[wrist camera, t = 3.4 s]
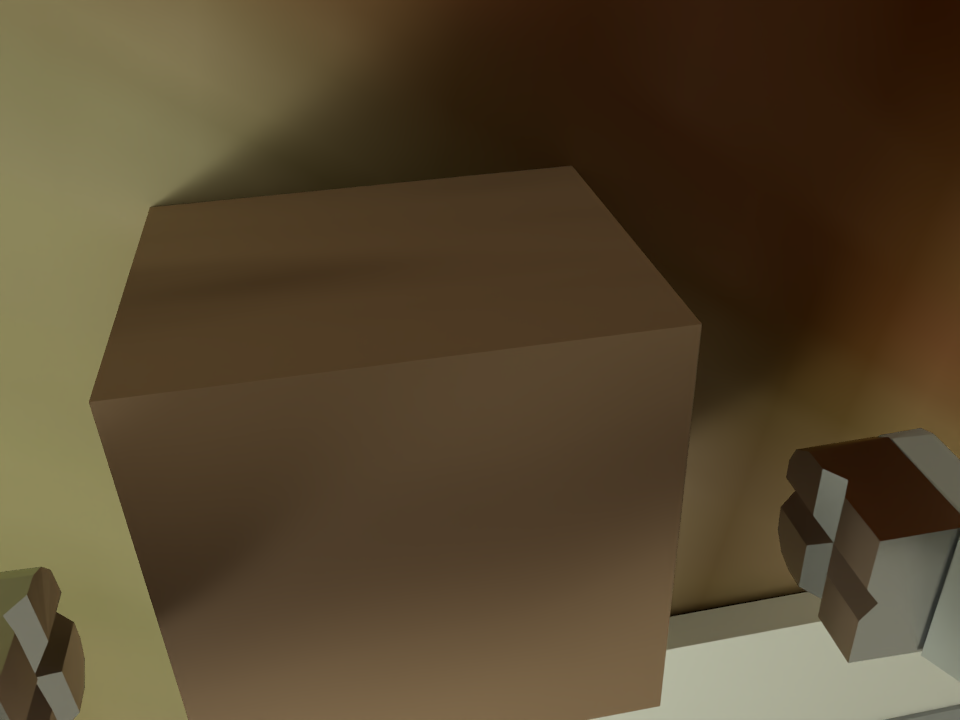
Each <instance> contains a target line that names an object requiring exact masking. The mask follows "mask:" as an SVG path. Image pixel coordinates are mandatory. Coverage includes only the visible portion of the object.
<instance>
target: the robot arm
mask: <svg viewBox="0 0 960 720" xmlns="http://www.w3.org/2000/svg"><path fill="white" fill-rule="evenodd" d="M786 478H787V479H788V481H789V482H790V483H791V485H792V486H793V488H794V489H795V490H796V491H795V492H794V493H793V494H792V495H791V496H790V497H789V499H788V500H787V501H786V502H785V503H784V504H783V505H782V506H781V510H780V518H779V525H778V533H779V539H780V545H781V552H782V555H783V557H784V560H785V562H786V565H787V567H788V570H789V571H790V573H791V575H792V576H793V578H794V579H795V581H796V583H797V584H798V586H799V587H801V588H803V589H804V590H806V591H808V592H810V593H811V594H813V595H815V596H817V597H818V598H820V599H821V603H820V608H819V613H818V617H819V619H820V620H821V622H822V623H823V625H824V627H825V628H826V630H827V631H828V633H829V634H830V636H831V637H832V639H833V640H834V642H835V644H836V645H837V647H838V648H839V650H840V651H841V653H842V654H843V656H844V657H845V659H846V660H847V662H848V663H852V662H858V661H865V660H871V659H877V658H883V657H890V656H896V655H902V654H909V653H915V652H921V651H922V653H921V656H922V657H924V658H925V659H927V660H928V661H930V662H931V663H933V664H934V665H936V666H937V667H939V668H940V669H941V670H943V671H944V672H946V673H947V674H949V675H950V676H952V677H953V678H955V679H956V680H957V681H959V682H960V460H959V459H958V458H957V457H956V456H955V455H954V454H953V453H952V452H951V451H950V450H949V449H948V448H947V447H946V446H945V445H944V444H943V443H942V442H941V441H940V440H939V439H938V438H937V437H936V436H935V435H934V434H933V433H931V432H929V431H926V430H924V429H922V428H919V429H913V430H907V431H901V432H896V433H890V434H884V435H880V436H878V437H870V438H864V439H858V440H852V441H846V442H839V443H833V444H827V445H821V446H815V447H809V448H803V449H797V450H796V451H795V452H794V454H793V455H792V457H791V459H790V461H789V466H788V471H787V476H786ZM60 596H61V591H60V588H59V586H58V584H57V582H56V580H55V578H54V576H53V574H52V572H51V570H49V569H46V568H43V567H35V568H28V569H20V570H12V571H5V572H0V720H73V719H74V718H75V717H76V716H77V715H78V714H79V712H80V708H81V703H82V698H83V693H84V688H85V658H84V653H83V648H82V644H81V639H80V636H79V634H78V631H77V629H76V626H75V624H74V622H73V621H71V620H69V619H67V618H66V617H64V616H62V615H60V614H59V613H57V612H56V611H57V607H58V603H59V599H60Z"/></svg>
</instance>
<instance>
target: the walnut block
mask: <svg viewBox="0 0 960 720" xmlns="http://www.w3.org/2000/svg"><path fill="white" fill-rule="evenodd" d="M701 329H702V323H701V322H700V321H699V320H698V319H697V317H696V316H695V315H694V314H693V313H692V311H691V310H690V309H689V308H688V306H687V305H686V304H685V303H684V302H683V300H682V299H681V298H680V297H679V295H678V294H677V293H676V292H675V291H674V289H673V288H672V287H671V286H670V285H669V283H668V282H667V281H666V280H665V278H664V277H663V276H662V275H661V274H660V272H659V271H658V270H657V269H656V267H655V266H654V265H653V264H652V263H651V261H650V260H649V259H648V258H647V256H646V255H645V254H644V253H643V252H642V250H641V249H640V248H639V247H638V246H637V244H636V243H635V242H634V241H633V239H632V238H631V237H630V236H629V235H628V233H627V232H626V231H625V230H624V228H623V227H622V226H621V225H620V224H619V222H618V221H617V220H616V219H615V218H614V216H613V215H612V214H611V213H610V211H609V210H608V209H607V208H606V207H605V205H604V204H603V203H602V202H601V200H600V199H599V198H598V197H597V196H596V194H595V193H594V192H593V191H592V189H591V188H590V187H589V186H588V185H587V183H586V182H585V181H584V180H583V179H582V177H581V176H580V175H579V174H578V172H577V171H576V170H575V169H574V168H573V166H562V167H552V168H542V169H532V170H522V171H512V172H501V173H491V174H481V175H471V176H461V177H451V178H441V179H431V180H420V181H410V182H400V183H390V184H380V185H370V186H360V187H350V188H339V189H329V190H319V191H309V192H299V193H289V194H279V195H268V196H258V197H248V198H238V199H228V200H218V201H208V202H198V203H187V204H177V205H167V206H157V207H150V209H149V212H148V216H147V219H146V222H145V225H144V228H143V232H142V235H141V238H140V241H139V244H138V248H137V251H136V254H135V257H134V260H133V263H132V267H131V270H130V273H129V276H128V279H127V283H126V286H125V289H124V292H123V295H122V299H121V302H120V305H119V308H118V311H117V314H116V318H115V321H114V324H113V327H112V330H111V334H110V337H109V340H108V343H107V346H106V350H105V353H104V356H103V359H102V362H101V365H100V369H99V372H98V375H97V378H96V381H95V385H94V388H93V391H92V394H91V397H90V401H89V404H90V407H91V410H92V413H93V417H94V420H95V423H96V426H97V429H98V433H99V436H100V439H101V442H102V445H103V449H104V452H105V455H106V458H107V461H108V465H109V468H110V471H111V474H112V477H113V480H114V484H115V487H116V490H117V493H118V496H119V500H120V503H121V506H122V509H123V512H124V516H125V519H126V522H127V525H128V528H129V532H130V535H131V538H132V541H133V544H134V548H135V551H136V554H137V557H138V560H139V563H140V567H141V570H142V573H143V576H144V579H145V583H146V586H147V589H148V592H149V595H150V599H151V602H152V605H153V608H154V611H155V615H156V618H157V621H158V624H159V627H160V630H161V634H162V637H163V640H164V643H165V646H166V650H167V653H168V656H169V659H170V662H171V666H172V669H173V672H174V675H175V678H176V682H177V685H178V688H179V691H180V694H181V698H182V701H183V704H184V707H185V710H186V713H187V717H188V720H590V719H595V718H600V717H605V716H611V715H616V714H621V713H627V712H632V711H637V710H642V709H648V708H653V707H658V706H660V703H661V693H662V684H663V675H664V666H665V657H666V648H667V639H668V630H669V620H670V611H671V602H672V593H673V584H674V575H675V566H676V557H677V548H678V538H679V529H680V520H681V511H682V502H683V493H684V484H685V475H686V465H687V456H688V447H689V438H690V429H691V420H692V411H693V402H694V393H695V383H696V374H697V365H698V356H699V347H700V338H701Z"/></svg>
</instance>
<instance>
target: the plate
mask: <svg viewBox="0 0 960 720" xmlns="http://www.w3.org/2000/svg"><path fill="white" fill-rule="evenodd" d="M820 603H821V599H820V598H818V597H817V596H815V595H813V594H811V593H810V592H804V593H799V594H793V595H788V596H782V597H777V598H771V599H766V600H760V601H755V602H749V603H744V604H738V605H732V606H727V607H721V608H716V609H710V610H705V611H699V612H694V613H688V614H683V615H677V616H672V617H670V620H669V630H668V639H667V648H666V657H665V666H664V675H663V684H662V693H661V703H660V706H658V707H653V708H648V709H642V710H637V711H632V712H627V713H621V714H616V715H611V716H605V717H600V718H595V719H590V720H960V682H959V681H957V680H956V679H955V678H953V677H952V676H950V675H949V674H947V673H946V672H944V671H943V670H941V669H940V668H939V667H937V666H936V665H934V664H933V663H931V662H930V661H928V660H927V659H925V658H924V657H922V656H921V653H922V651H921V652H915V653H909V654H902V655H896V656H890V657H883V658H877V659H871V660H865V661H858V662H852V663H848V662H847V660H846V659H845V657H844V656H843V654H842V653H841V651H840V650H839V648H838V647H837V645H836V644H835V642H834V640H833V639H832V637H831V636H830V634H829V633H828V631H827V630H826V628H825V627H824V625H823V623H822V622H821V620H820V619H819V617H818V613H819V608H820Z"/></svg>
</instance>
